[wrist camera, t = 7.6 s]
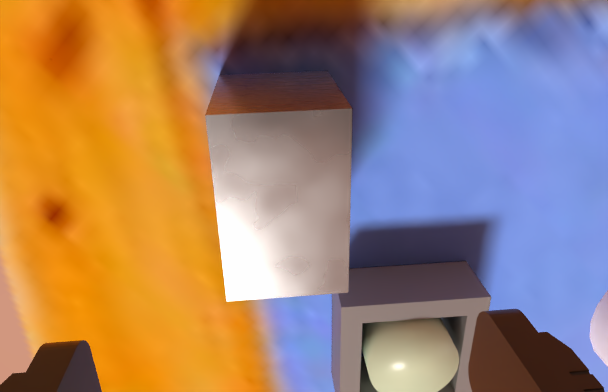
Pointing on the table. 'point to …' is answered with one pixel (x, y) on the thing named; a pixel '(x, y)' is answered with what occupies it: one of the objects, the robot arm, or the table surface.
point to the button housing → (405, 314)
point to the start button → (409, 355)
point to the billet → (281, 183)
